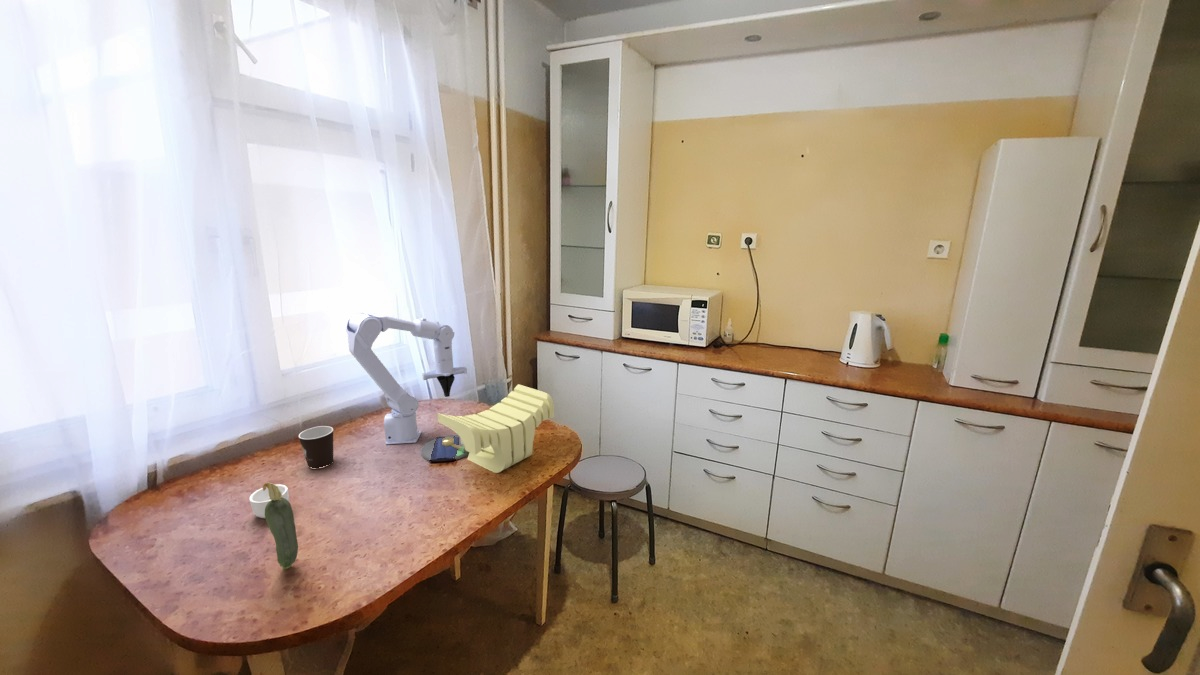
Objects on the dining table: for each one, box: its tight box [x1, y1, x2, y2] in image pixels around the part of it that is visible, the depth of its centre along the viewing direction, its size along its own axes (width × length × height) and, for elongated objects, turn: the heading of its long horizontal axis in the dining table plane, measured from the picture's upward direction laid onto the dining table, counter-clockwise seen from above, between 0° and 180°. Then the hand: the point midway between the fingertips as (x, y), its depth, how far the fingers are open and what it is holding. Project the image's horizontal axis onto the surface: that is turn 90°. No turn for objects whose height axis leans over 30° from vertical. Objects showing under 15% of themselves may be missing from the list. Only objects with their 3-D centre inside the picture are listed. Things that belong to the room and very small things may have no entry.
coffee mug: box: [298, 425, 334, 468], centre depth 134 cm, size 12×9×10 cm
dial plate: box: [420, 434, 469, 461], centre depth 143 cm, size 16×16×1 cm
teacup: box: [248, 483, 290, 519], centre depth 112 cm, size 10×8×5 cm
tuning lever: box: [442, 437, 468, 452], centre depth 141 cm, size 10×4×5 cm, turn 62°
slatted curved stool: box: [437, 383, 555, 474], centre depth 136 cm, size 30×16×18 cm, turn 143°
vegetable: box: [262, 482, 299, 570], centre depth 91 cm, size 4×4×20 cm
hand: (446, 395), depth 159 cm, fingers closed
